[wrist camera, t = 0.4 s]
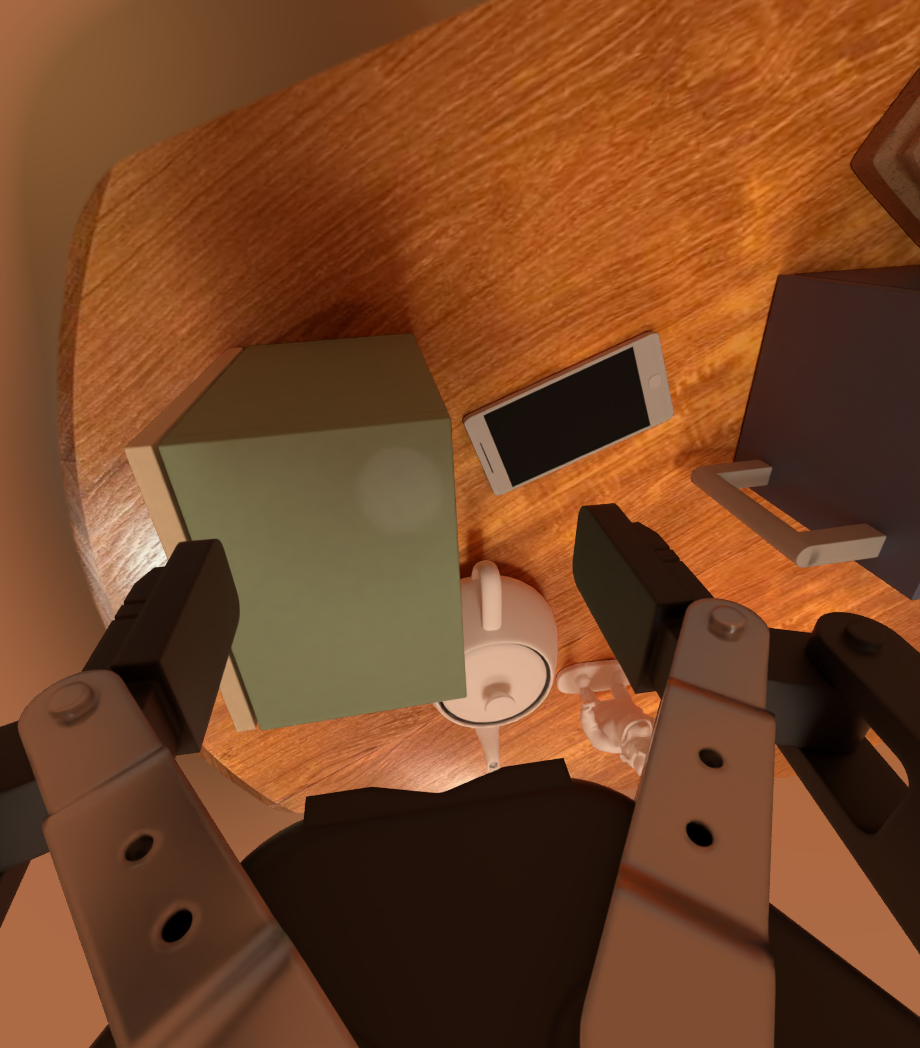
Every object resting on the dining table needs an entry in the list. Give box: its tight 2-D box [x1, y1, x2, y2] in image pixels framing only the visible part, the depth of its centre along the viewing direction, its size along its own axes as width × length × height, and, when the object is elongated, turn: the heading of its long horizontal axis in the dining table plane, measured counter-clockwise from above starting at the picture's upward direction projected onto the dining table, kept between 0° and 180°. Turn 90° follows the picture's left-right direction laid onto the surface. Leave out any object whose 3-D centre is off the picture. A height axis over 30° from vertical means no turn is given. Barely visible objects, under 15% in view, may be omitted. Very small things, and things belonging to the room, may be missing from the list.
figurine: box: [556, 659, 655, 776], centre depth 51 cm, size 9×7×12 cm
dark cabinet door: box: [691, 275, 920, 600], centre depth 34 cm, size 7×16×18 cm, turn 3°
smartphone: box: [463, 331, 674, 495], centre depth 40 cm, size 7×16×1 cm, turn 113°
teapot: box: [432, 560, 558, 773], centre depth 45 cm, size 22×14×11 cm, turn 2°
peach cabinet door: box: [124, 347, 258, 732], centre depth 31 cm, size 7×16×18 cm, turn 3°
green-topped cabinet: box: [158, 333, 467, 730], centre depth 32 cm, size 11×16×18 cm
